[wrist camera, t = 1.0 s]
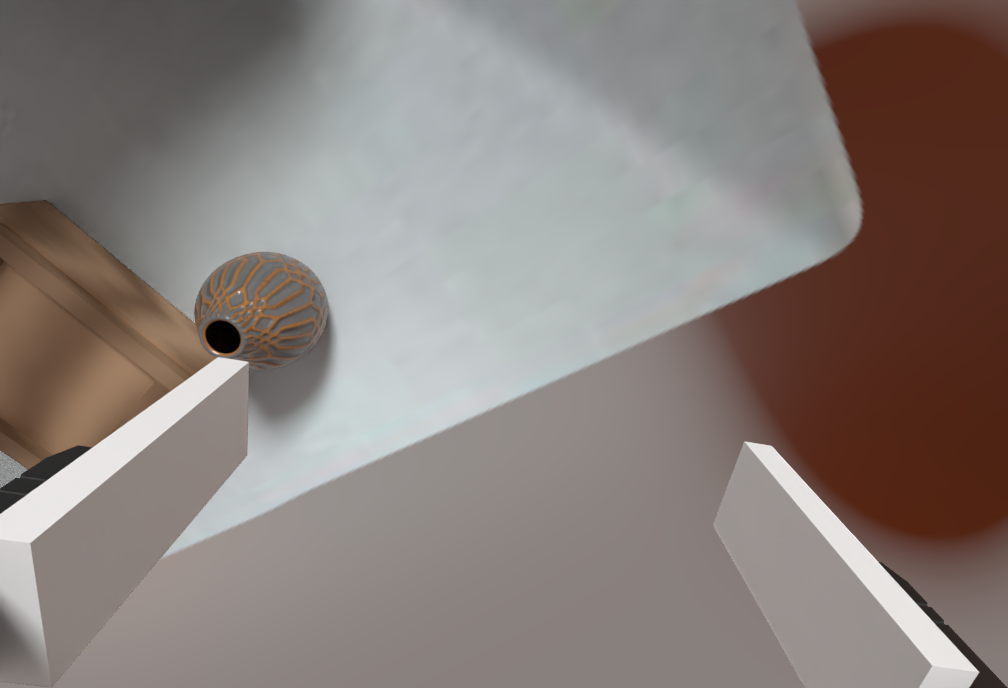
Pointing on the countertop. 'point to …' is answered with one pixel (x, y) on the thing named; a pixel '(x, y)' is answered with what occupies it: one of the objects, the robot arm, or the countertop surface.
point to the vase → (261, 310)
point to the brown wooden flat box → (78, 337)
